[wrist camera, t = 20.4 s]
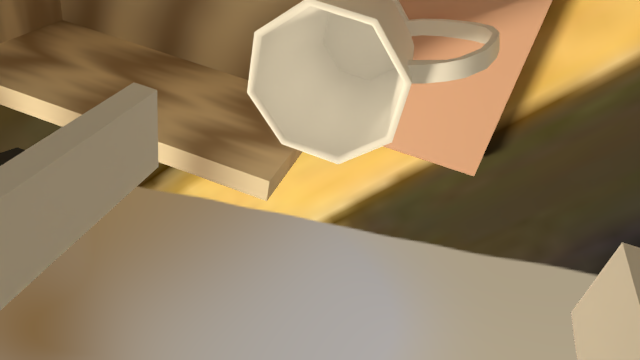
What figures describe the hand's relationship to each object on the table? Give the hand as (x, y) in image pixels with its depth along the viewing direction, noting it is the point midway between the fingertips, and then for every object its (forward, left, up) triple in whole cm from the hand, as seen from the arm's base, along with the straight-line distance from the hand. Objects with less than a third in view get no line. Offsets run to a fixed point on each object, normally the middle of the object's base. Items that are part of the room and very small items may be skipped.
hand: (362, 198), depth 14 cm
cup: (-2, 0, -15) cm, 15 cm away
